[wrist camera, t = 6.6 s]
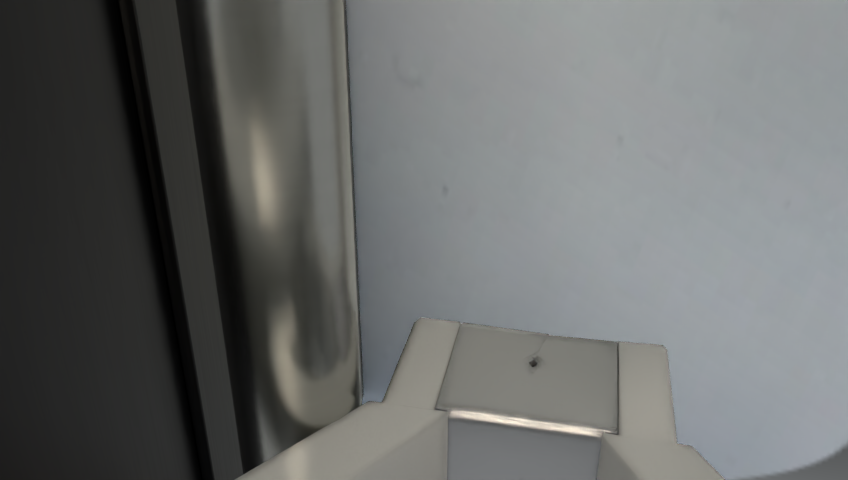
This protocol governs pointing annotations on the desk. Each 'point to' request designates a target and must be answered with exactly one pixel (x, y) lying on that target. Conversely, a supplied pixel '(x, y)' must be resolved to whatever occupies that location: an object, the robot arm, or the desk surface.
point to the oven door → (173, 235)
